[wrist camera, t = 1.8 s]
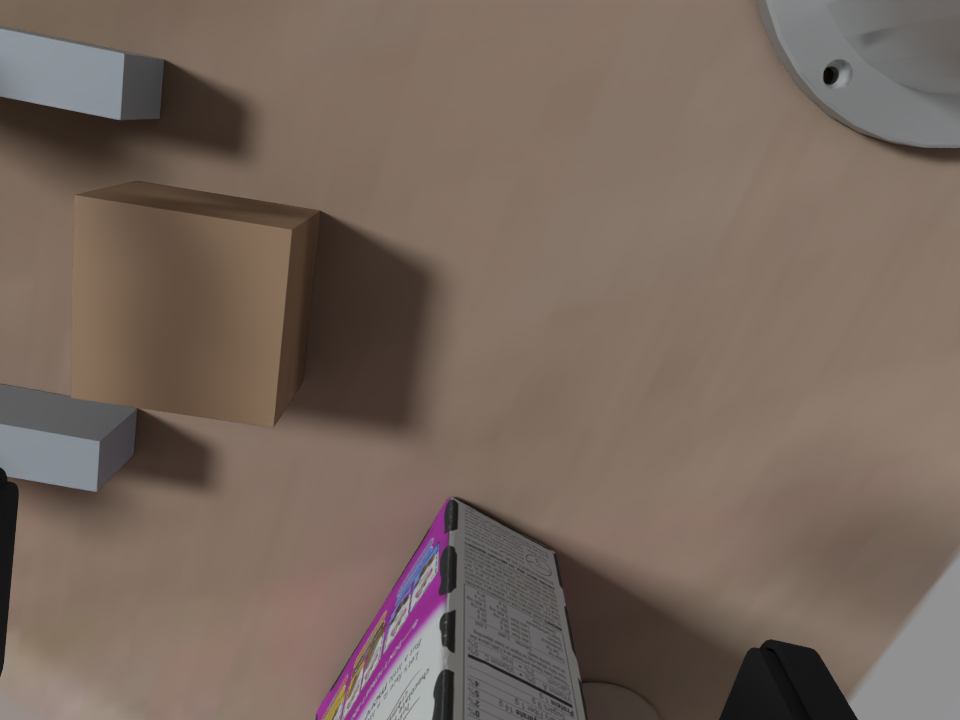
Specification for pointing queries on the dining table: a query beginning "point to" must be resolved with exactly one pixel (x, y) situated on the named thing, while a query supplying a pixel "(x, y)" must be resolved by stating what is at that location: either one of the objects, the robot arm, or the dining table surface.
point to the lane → (41, 415)
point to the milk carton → (466, 633)
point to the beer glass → (615, 703)
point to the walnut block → (190, 301)
